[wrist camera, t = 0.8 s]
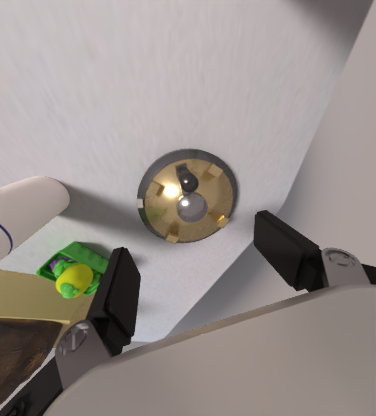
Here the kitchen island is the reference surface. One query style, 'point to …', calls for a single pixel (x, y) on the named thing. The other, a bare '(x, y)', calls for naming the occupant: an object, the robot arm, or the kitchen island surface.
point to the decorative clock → (32, 324)
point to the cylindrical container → (28, 209)
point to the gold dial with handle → (188, 200)
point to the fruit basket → (74, 270)
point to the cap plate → (174, 157)
